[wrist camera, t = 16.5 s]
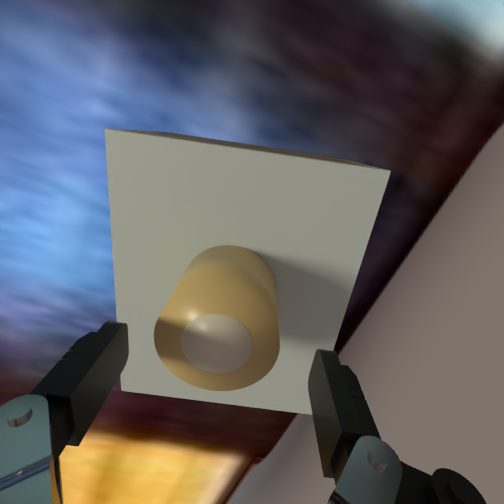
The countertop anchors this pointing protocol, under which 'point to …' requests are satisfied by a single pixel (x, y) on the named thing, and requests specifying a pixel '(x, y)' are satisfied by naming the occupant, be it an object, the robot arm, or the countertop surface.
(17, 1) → the countertop surface
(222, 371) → the tan rounded piece
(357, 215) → the lid
